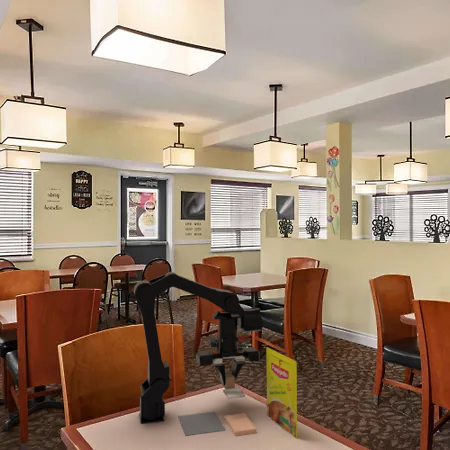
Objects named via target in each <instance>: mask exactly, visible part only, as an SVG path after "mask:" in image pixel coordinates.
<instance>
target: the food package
mask: <svg viewBox="0 0 450 450" xmlns="http://www.w3.org/2000/svg"><path fill="white" fill-rule="evenodd" d="M265 352H266V416H268V417H269V418H270V419H271V420H272V421H274V423H276V424H277V425H279V426H280V427H281V428H282V429H284V431H286V432H287V433H289V434H290V435H292V436H293V437H294V438H295V439H298V398H297V396H298V393H297V391H298V387H297V385H298V382H297V380H298V377H297V376H298V375H297V374H298V373H297V371H298V368H297V360H294V359H291V358H290V357H288V356H286V355H284V354H281V353H279V352H277V351H276V350H274V349H272V348H269V347H268V346H267V347H266V351H265Z"/></svg>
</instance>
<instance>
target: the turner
mask: <svg viewBox="0 0 450 450" xmlns="http://www.w3.org/2000/svg"><path fill="white" fill-rule="evenodd" d="M219 381H220V382H219V383H220V384H221V385H222V386H223V388H224V389H222V393H224V395H225V396H226V397H227V399H228V400H232V399H233V400H234V399H240V398H246V394H245V392H244V391H243V390H242V389H241V388H240V387H236V380H235V376H234V375H233V374H232V371H230V370H229V369H228V368H225V385H223V383H222V380H221V377H220V376H219Z"/></svg>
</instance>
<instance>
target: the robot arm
mask: <svg viewBox="0 0 450 450" xmlns="http://www.w3.org/2000/svg"><path fill="white" fill-rule="evenodd" d="M171 288H176V289H178V290H181V291H183V292H186V293H189V294H191V295H194V296H197V297H199V298H201V299H204V300H207V301H209V302H210V303H212V304H213V305H215V306H217V307H218V308H220V309H221V310H223V311H225V312H221V311H220V310H219V309H217V310H216V311H215V312H214V313H213V314H212V315H211V318H213V319H214V320H218V334H217V338H216V336H212V337H211V336H210V337H208V347H209V349H212V348H213V349H214V351H215V352H217V353H212V352H211V351H210V350H202V351H201V350H199V351H198V352H197V353H196V356H195V358H196V359H195V361H196V362H197V364H198V365H199V366H200V367H205V366H212V365H213V366H214V368H216V369H217V370H218V374H219V378H220V377H221V380H222V383H223V385H225V369H226V368H225V367H226V365H225V363H223V360H231V373H232V374H233V375H234V376H235V381H236V380H237V378H238V375H239V373H240V371H241V370H242V368H243V366H244V365H245V366H246V365H247V362H246V361H245V359H246V358H247V359H248V360H249V361H250V362H259V361H260V360H261V353H260V350H257V348H255V347H254V346H249V347H243V348H242V349H241V350H242V351H239V350H238V346H239V345H238V342H239V337H238V329H239V330H241V331H242V332H243V333H248V332H249V333H251V332H261V331H262V330H263V328H264V321H263V318H262V314H261V309H260V308H252V309H251V308H250V309H249V308H248V309H244V308H243V306H241V304H240V298H239V296H238V295H237V294H236V293H234V292H232V291H231V290H227V289H222V288H216V287H210V286H207V285H205V284H202V283H199V282H197V281H194V280H191V279H189V278H187V277H185V276H181V275H179V274H177V273H175V272H173V271H168V272H167V273H165V274H162V275H160V276H157V277H155V278H152V279H150V280H146V279H145V280H143V279H142V280H139V281H138V282H137V283H136V284H135V285H134V287H133V293H134V297H135V299H136V304H137V305H138V309H139V311H140V314H141V319H142V320H141V321H142V325H143V332H144V339H145V345H146V352H147V359H148V364H147V378H145V380H143V382H142V383H141V384H140V392H141V395H139V415H138V416H139V420H140V424H141V425H142V424H150V423H151V424H152V423H159V422H163V421H165V418H164V417H165V416H166V401H165V399H164V396H163V395H164V394H165V393H166V392H167V390H169V388H170V382H172V377H171V375H170V366H169V363H168V361H167V360H165V361H163V359H162V352H161V349H160V347H161V346H160V341H159V335H158V334H159V333H158V327H157V320H156V315H155V309H156V307H155V306H156V296H157V295H160V294H162V293H164V292H167V290H169V289H171ZM233 312H234V314H232V313H233ZM223 385H222V386H223Z"/></svg>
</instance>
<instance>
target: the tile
mask: <svg viewBox="0 0 450 450" xmlns="http://www.w3.org/2000/svg"><path fill="white" fill-rule="evenodd" d="M224 421H225V423H226V424H227V425H228V427H229V429H230V430H231V432H232V434H233V435H234V436H235V437H236V436H237V437H238V436H243V435H250V434H257V428H256V426H255V425H254V423H252V421H251V419H249V417H248V416H247V414H246V413H244V412H243V413H235V414H227V415H224Z"/></svg>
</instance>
